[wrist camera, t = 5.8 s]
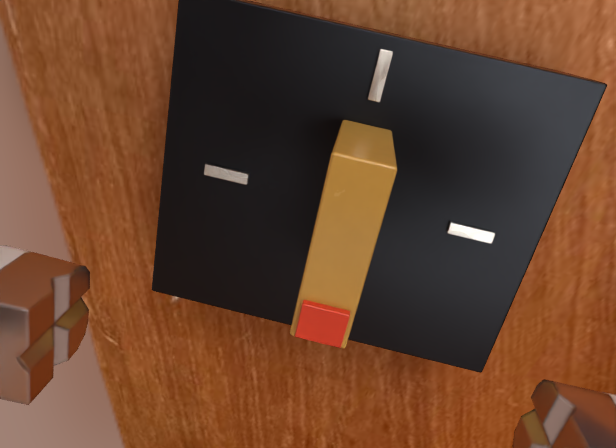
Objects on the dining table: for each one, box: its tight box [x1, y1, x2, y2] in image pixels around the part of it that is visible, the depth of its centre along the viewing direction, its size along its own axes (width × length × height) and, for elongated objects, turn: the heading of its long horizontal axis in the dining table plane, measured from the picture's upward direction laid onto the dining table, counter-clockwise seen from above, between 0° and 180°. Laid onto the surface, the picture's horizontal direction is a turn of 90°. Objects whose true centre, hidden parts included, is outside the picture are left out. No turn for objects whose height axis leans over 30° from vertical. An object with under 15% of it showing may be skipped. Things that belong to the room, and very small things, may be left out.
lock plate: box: [152, 0, 607, 372], centre depth 17 cm, size 12×10×3 cm
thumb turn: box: [290, 120, 397, 348], centre depth 14 cm, size 5×2×4 cm, turn 168°
